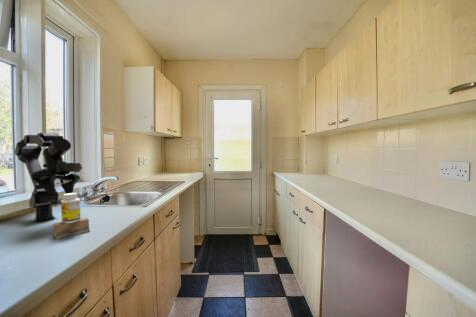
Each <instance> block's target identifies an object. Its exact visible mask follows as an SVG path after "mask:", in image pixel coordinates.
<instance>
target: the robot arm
mask: <svg viewBox="0 0 476 317" xmlns="http://www.w3.org/2000/svg"><path fill="white" fill-rule="evenodd" d="M28 144H29V145H28ZM30 144H31V145H30ZM33 144H34V145H33ZM42 147H43V148H44V147H45V149H44V150H43V148H42ZM71 147H72V145H71V142H70V141H69V140H68V139H66V138H64V136H63V135H60V133H55V132H39V133H37V134H26V135H24V136H23V138H22V139H21V140H20V141H18V142H17V143H16V145H15V149H14V153H15V156H16V157H17V159H18V161H20V162H22V163H24V164H25V166H26V169H27V172H28V175H29V177H30V179H31V181H32V182H31V183H32V185H33V188H34V189H33V190H32V193H31V197H30V198H29V201H28V206H29V208H32V209H35V210H34V211H35V217H34V222H35V223H37V222H43V221H48V220H49V221H50V220H54V219H55V216H54V214H53V205H58V202H59V192H58V190H57V189H56V187H55V186H56V185H55V181H56V180H59V182H60V183H61V184H60V186H61V187H62V189H63V191H64V193H65V194H67V193H74V187H75V185H76V183H78V182H79V181H81V176H80V174H76V173H79V172H80V171H82V169H83V167H82V165H81V163H79V162H66V161H64V158H63V156H64V155H65V154H66V153H67V152H68V151H69V150H70V149H71ZM42 150H43V151H42ZM41 153H42V156H43V158H44V162H45V163H44V164H42V167H43V168H42V167H41V163H40V161H39V157H40V155H41Z"/></svg>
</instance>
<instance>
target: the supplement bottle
mask: <svg viewBox="0 0 476 317" xmlns="http://www.w3.org/2000/svg"><path fill="white" fill-rule="evenodd" d="M60 208H61V211H60V212H61V222H63V223H73V222H76V221H79V220H80V218H81V199H80V198H79V197H78V193H77V192H73V193H67V194H66V193H64V194H63V198H62V199H61V200H60Z"/></svg>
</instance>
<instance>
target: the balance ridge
mask: <svg viewBox="0 0 476 317" xmlns="http://www.w3.org/2000/svg"><path fill="white" fill-rule="evenodd" d="M90 230H91V229H90V221H89V219H88V217H87V216H86V217H80V220H79V221H76V222H73V223H63V222H62V221H61V222H60V221H59V222H55V223H53V236H54V239H55V240H58V239H63V238H68V237H72V236H77V235H80V234H86V233H89V232H90Z"/></svg>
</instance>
